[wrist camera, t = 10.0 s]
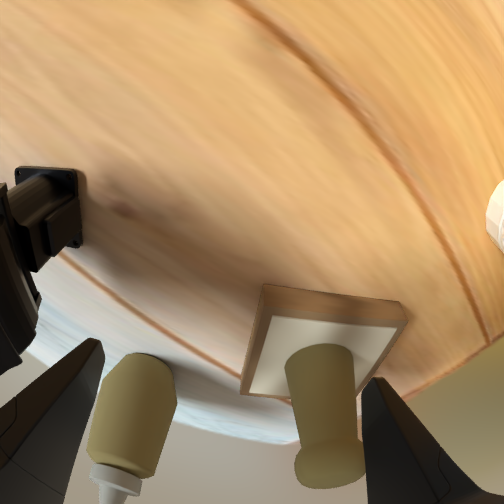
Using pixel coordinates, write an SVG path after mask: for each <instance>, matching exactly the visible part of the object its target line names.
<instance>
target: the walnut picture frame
mask: <svg viewBox="0 0 504 504" xmlns="http://www.w3.org/2000/svg"><path fill="white" fill-rule="evenodd" d="M407 323H408V319H407V317H406V315H405V313H404V311H403V309H402V307H401V305H400V303H399V302H397V301H388V300H380V299H371V298H363V297H355V296H347V295H340V294H332V293H324V292H317V291H310V290H302V289H295V288H288V287H281V286H274V285H268V284H264V285H263V289H262V293H261V297H260V301H259V305H258V309H257V314H256V318H255V322H254V326H253V330H252V334H251V338H250V342H249V346H248V350H247V354H246V358H245V362H244V366H243V369H242V373H241V385H240V395H248V396H257V397H268V398H280V399H291V397H290V393H289V388H288V383H287V379H286V374H285V369H284V366H285V364H286V361H287V360H288V359H289V357H290V356H291V355H292V354H294V353H295V352H297V351H298V350H300V349H302V348H305V347H308V346H311V345H315V344H322V343H330V344H337V345H341V346H344V347H345V348H347V349H348V350H349V351H350V352H351V354H352V356H353V361H354V374H355V389H356V397H357V395H358V394H359V393H360V392H361V390H362V389H363V388H364V386H365V385H366V384H367V382H368V381H369V380H370V378H371V377H372V375H373V374H374V373H375V371H376V370H377V368H378V367H379V366H380V364H381V363H382V361H383V360H384V358H385V357H386V355H387V354H388V353H389V351H390V350H391V348H392V347H393V345H394V343H395V342H396V340H397V339H398V337H399V336H400V334H401V333H402V331H403V329H404V328H405V326H406V324H407Z"/></svg>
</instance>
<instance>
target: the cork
mask: <svg viewBox="0 0 504 504" xmlns="http://www.w3.org/2000/svg"><path fill="white" fill-rule="evenodd" d="M284 369H285V374H286V379H287V383H288V388H289V393H290V397H291V402H292V406H293V411H294V415H295V420H296V424H297V429H298V434H299V438H300V443H301V447H302V448H301V450H300V451H299V453H298V454H297V455H296V459H295V463H294V465H295V473H296V476H297V479H298V481H299V482H300V483H301V484H302V485H303V486H306V487H308V488H313V489H329V488H335V487H340V486H344V485H347V484H350V483H353V482H355V481H357V480H358V479H360V478H361V477H362V476H363V475H364V474H365V472H366V470H365V459H364V449H363V442H361V441H360V440H359V439H358V437H357V407H356V389H355V374H354V361H353V356H352V354H351V352H350V351H349V350H348V349H347V348H345V347H344V346H341V345H337V344H330V343H322V344H315V345H311V346H308V347H305V348H302V349H300V350H298V351H297V352H295V353H294V354H292V355H291V356H290V357H289V359H288V360H287V361H286V364H285V366H284Z"/></svg>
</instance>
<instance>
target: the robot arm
mask: <svg viewBox="0 0 504 504" xmlns="http://www.w3.org/2000/svg"><path fill="white" fill-rule="evenodd" d="M19 171H20V172H19ZM69 174H70V175H71V177H72V178H70V177H69ZM15 182H16V186H15V187H13V188H11V189H10V190H8V189H7V184H6V183H0V375H2V374H3V373H4V372H6V371H7V370H9V369H11V368H13V367H15V366H18V365H19V364H21V363H22V359H21V357H20V356H19V355H20V354H22V353H23V352H24V351H25V349H26V348H27V347H28V346H29V345H30V344H31V342H32V341H33V339H34V338H35V336H36V331H35V328H36V324H37V321H38V310H39V306H40V303H41V300H42V298H41V295H40V293H39V292H38V291H37V289H36V286H35V283H34V281H33V278H32V276H31V273H30V272H35V273H37V272H38V271H39V270H40V269H41V268H42V267H43V266H44V264H45V263H46V262H47V261H48V260H49V259H50V258H51V257H55V256H56V255H57V254H58V253H59V252H60V251H61V250H62V249H63V248H64V247H65V246H67V247H72V248H79V247H80V246H81V245H82V244H83V240H82V232H81V229H82V224H81V214H80V202H79V198H78V185H77V173H76V171H75V170H74V169H67V168H51V167H31V166H19V167H18V168H16V169H15ZM75 240H76V241H77V242H78V243H77V242H76V241H75ZM104 363H105V354H104V350H103V347H102V343H101V341H100V340H97V339H94V338H88V339H86V340H85V341H84V342H82V343H81V344H80V345H78V346H77V347H76V348H75V349H73V350H72V351H71V352H69V353H68V354H67V355H66V356H64V357H63V358H62V359H61V360H59V361H58V362H57V363H56V364H54V365H53V366H52V367H51V368H49V369H48V370H47V371H46V372H44V373H43V374H42V375H41V376H40V377H38V378H37V379H36V380H34V381H33V382H32V383H31V384H29V385H28V386H27V387H26V388H25V389H23V390H22V391H21V392H20V393H19V394H17V395H16V397H13V398H12V399H11V400H10V401H9V402H8V403H6V404H5V405H4V406H2V407H1V408H0V504H63V502H64V498H65V494H66V490H67V487H68V483H69V479H70V476H71V472H72V468H73V465H74V462H75V459H76V455H77V452H78V449H79V446H80V443H81V439H82V436H83V434H84V431H85V428H86V425H87V422H88V419H89V416H90V413H91V410H92V408H93V405H94V402H95V398H96V395H97V390H98V386H99V382H100V378H101V374H102V370H103V367H104ZM361 409H362V439H363V449H364V459H365V470H366V481H367V495H368V504H504V496H501V495H496V494H492V493H489V492H486V491H484V490H482V489H481V488H480V487H478V486H477V485H476V484H475V483H474V482H473V481H472V480H471V479H470V478H469V477H468V476H467V475H466V474H465V473H464V472H463V471H462V470H461V469H460V468H459V467H458V466H457V464H456V463H454V461H453V460H452V459H451V458H450V457H449V456H448V454H447V453H446V452H445V451H444V449H443V448H442V447H440V445H439V443H438V442H437V441H436V440H435V438H434V437H433V436H432V435H431V434H430V433H429V431H428V430H427V429H426V428H425V426H424V425H423V424H422V423H421V421H420V420H419V419H418V418H417V417H416V415H414V413H413V412H412V411H411V410H410V408H409V407H408V406H407V405H406V403H405V402H404V401H403V400H402V399H401V397H400V396H399V395H398V394H397V393H396V391H395V390H394V389H393V388H392V387H391V385H390V384H389V383H388V382H387V381H386V379H384V378H383V377H373V378H371V380H370V381H369V382H368V384H367V385H366V386H365V388H364V389H363V391H362V394H361Z"/></svg>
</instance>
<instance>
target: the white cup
mask: <svg viewBox="0 0 504 504" xmlns="http://www.w3.org/2000/svg"><path fill="white" fill-rule="evenodd" d="M485 216H486V231H487V233H488V235H489V236H490V238H491V240H492V242H493V243H494V244H495V245H496V246H497V247H498V248H499V249H500V250H501V251H502V252H503V254H504V180H502V181H501V182H500V183H499V184H498V185H497V187H496V189H495V190H494V192H493V194H492V195H491V197H490V199H489V203H488V207H487V211H486V214H485Z"/></svg>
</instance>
